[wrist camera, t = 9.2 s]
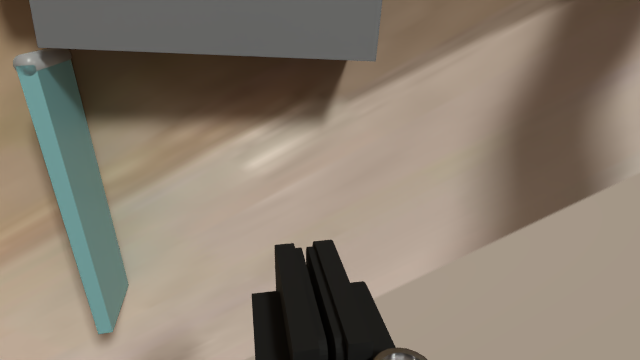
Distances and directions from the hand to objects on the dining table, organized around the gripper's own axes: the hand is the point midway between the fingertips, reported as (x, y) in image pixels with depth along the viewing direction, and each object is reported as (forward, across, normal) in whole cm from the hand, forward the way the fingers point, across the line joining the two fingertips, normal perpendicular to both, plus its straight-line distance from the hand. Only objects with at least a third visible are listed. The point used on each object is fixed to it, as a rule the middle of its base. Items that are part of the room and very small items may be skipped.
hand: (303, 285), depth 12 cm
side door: (+22, +13, +5) cm, 27 cm away
